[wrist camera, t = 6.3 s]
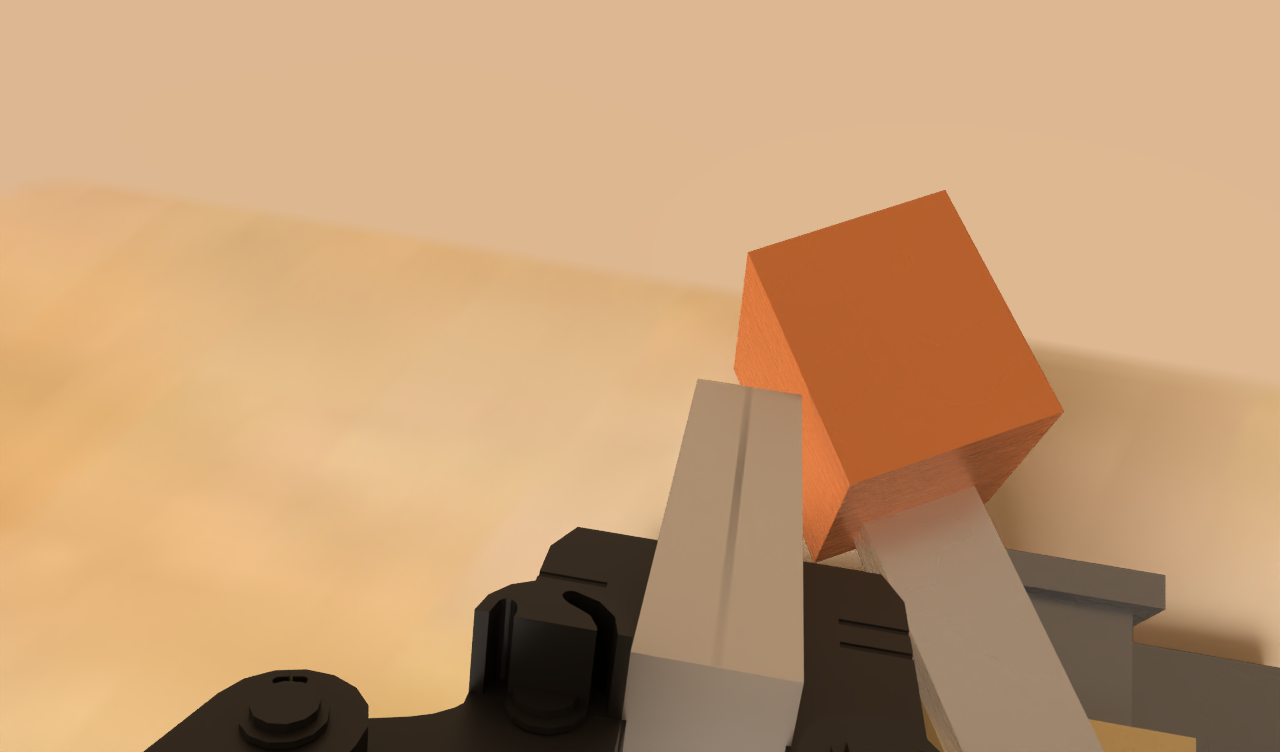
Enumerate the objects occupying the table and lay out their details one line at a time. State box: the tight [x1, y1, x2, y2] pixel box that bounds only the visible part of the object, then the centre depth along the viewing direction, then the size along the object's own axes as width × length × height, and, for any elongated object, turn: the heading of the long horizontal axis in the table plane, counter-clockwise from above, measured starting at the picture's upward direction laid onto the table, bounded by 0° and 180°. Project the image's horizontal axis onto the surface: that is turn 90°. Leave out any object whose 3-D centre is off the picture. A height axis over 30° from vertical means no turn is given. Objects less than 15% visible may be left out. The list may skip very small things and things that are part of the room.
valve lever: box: [734, 190, 1104, 752], centre depth 16 cm, size 10×3×4 cm, turn 19°
